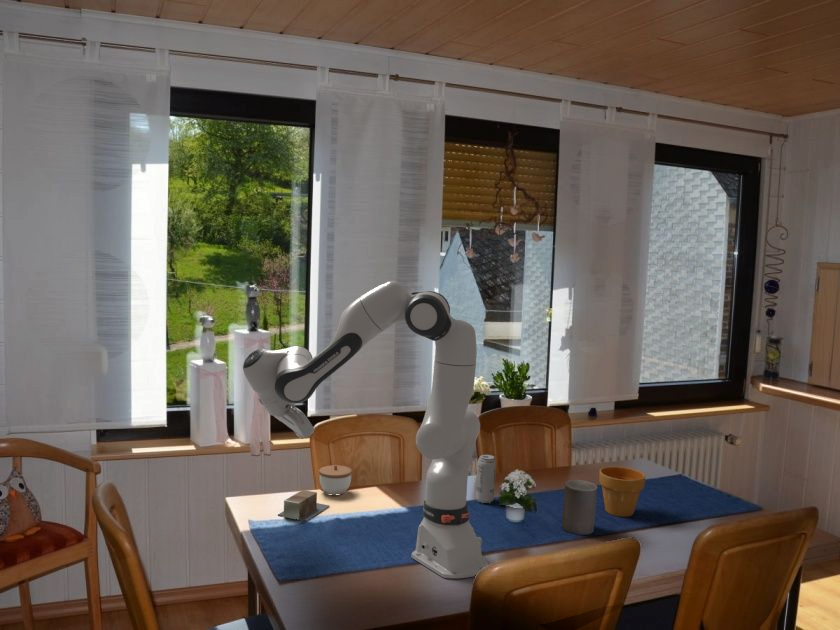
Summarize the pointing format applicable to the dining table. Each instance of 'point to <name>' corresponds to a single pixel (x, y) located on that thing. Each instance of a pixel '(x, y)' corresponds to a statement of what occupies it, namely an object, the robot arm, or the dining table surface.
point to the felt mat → (313, 513)
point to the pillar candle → (579, 507)
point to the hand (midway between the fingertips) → (302, 436)
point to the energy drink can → (485, 479)
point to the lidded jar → (335, 479)
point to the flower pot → (621, 489)
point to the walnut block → (300, 504)
